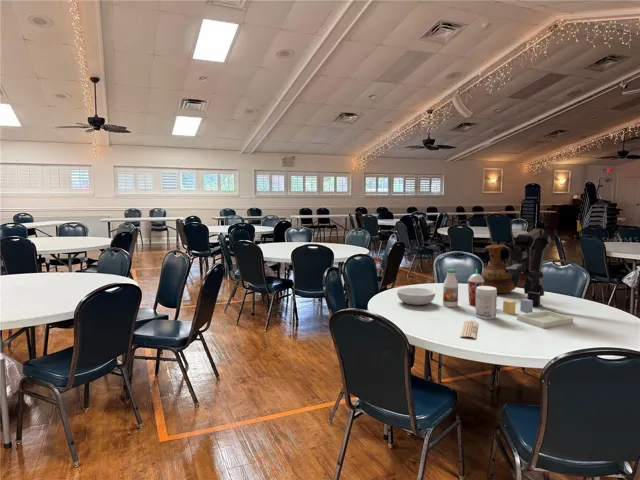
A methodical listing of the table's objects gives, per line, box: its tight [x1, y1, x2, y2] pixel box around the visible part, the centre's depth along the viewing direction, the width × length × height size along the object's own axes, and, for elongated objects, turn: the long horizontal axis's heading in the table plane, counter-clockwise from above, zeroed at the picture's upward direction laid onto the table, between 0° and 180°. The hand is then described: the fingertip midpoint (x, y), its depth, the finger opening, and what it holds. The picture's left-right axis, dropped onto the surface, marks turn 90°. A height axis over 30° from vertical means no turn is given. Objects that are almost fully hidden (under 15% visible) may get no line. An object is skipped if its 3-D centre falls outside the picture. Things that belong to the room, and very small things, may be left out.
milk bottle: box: [442, 268, 459, 308], centre depth 222 cm, size 8×8×20 cm
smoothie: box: [467, 268, 484, 307], centre depth 224 cm, size 8×8×20 cm
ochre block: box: [502, 299, 516, 315], centre depth 209 cm, size 4×4×6 cm
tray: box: [516, 310, 574, 329], centre depth 194 cm, size 20×14×2 cm
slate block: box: [519, 298, 534, 314], centre depth 211 cm, size 4×4×6 cm
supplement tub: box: [474, 286, 498, 320], centre depth 201 cm, size 10×10×15 cm
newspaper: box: [460, 320, 479, 340], centre depth 181 cm, size 24×7×2 cm, turn 157°
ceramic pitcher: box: [480, 244, 517, 294], centre depth 254 cm, size 20×20×30 cm
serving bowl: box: [396, 287, 436, 306], centre depth 228 cm, size 21×21×7 cm
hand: (522, 288), depth 210 cm, fingers open, 9 cm apart
